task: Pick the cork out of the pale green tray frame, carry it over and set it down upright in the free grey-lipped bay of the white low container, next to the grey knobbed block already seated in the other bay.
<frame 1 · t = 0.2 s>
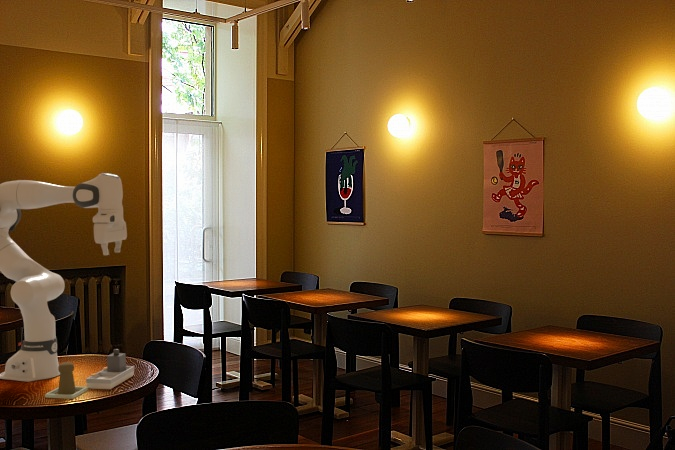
hand: (111, 253, 269), 47 cm above the table, fingers open, 8 cm apart
grey knobbed block: (116, 373, 272), point 2 cm above the table, touching white low container
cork: (67, 394, 252), resting in tray frame
white low container: (111, 381, 268), on the table
tray frame: (67, 393, 252), on the table
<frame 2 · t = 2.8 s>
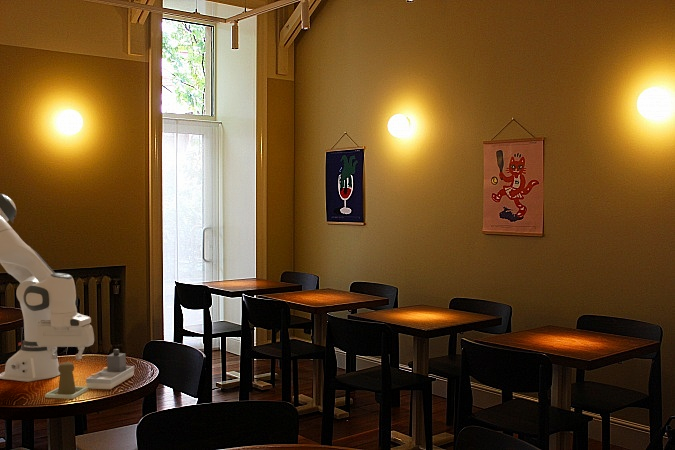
hand: (66, 359, 251), 12 cm above the table, fingers open, 8 cm apart
nothing on the table moved.
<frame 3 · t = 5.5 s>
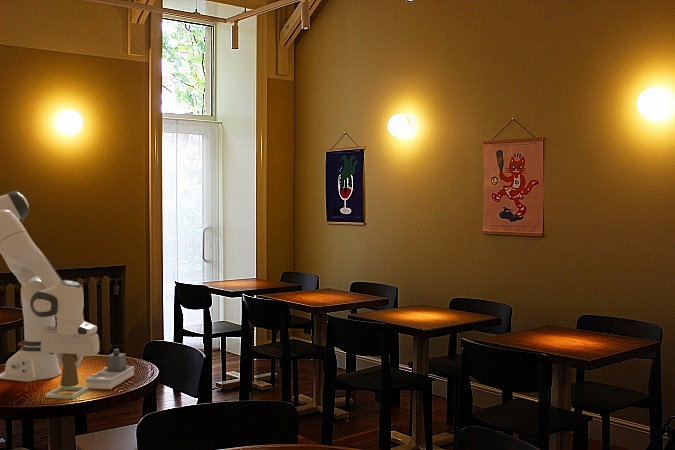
hand: (69, 366, 253), 9 cm above the table, fingers closed on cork, 4 cm apart
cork: (69, 384, 254), point 3 cm above the table, touching gripper
everything else where it was.
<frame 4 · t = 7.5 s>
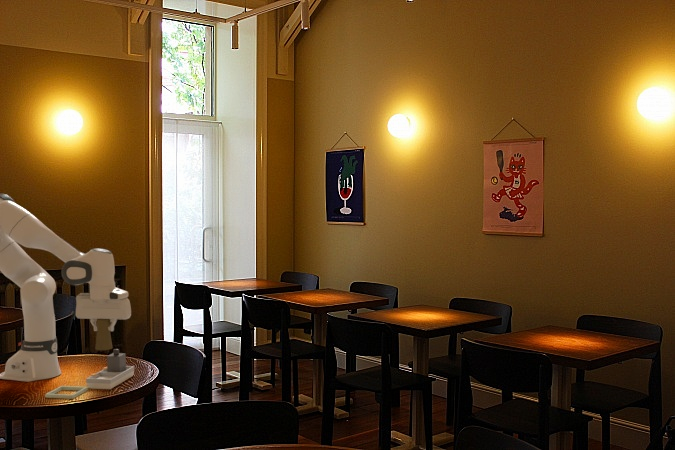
hand: (103, 330, 262), 20 cm above the table, fingers closed on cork, 4 cm apart
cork: (103, 348, 262), point 13 cm above the table, touching gripper
everything else where it was.
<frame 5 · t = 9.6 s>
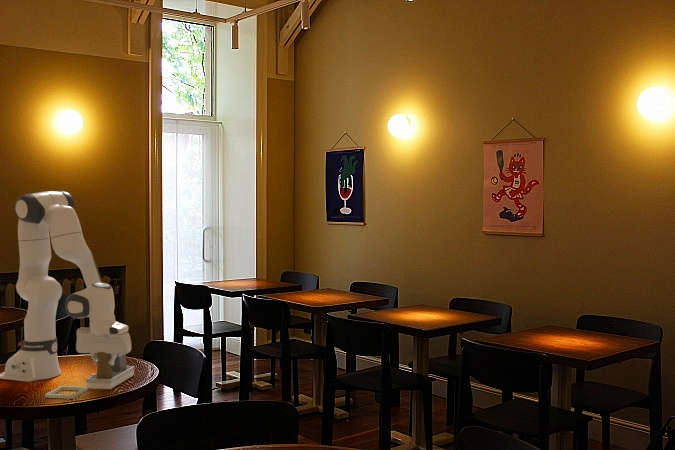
hand: (104, 365, 262), 7 cm above the table, fingers closed on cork, 4 cm apart
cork: (104, 380, 263), point 2 cm above the table, touching gripper, white low container
everything else where it was.
when the fingers open (7 cm above the table, at t = 10.5 s): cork stays where it is, resting on white low container.
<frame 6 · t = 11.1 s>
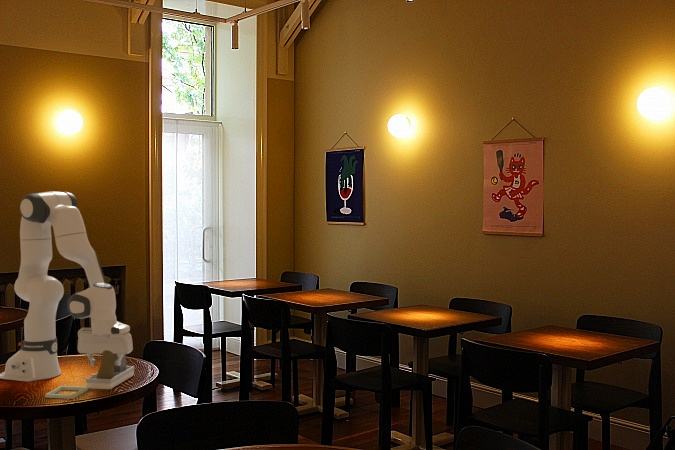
hand: (105, 365, 263), 7 cm above the table, fingers open, 8 cm apart
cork: (104, 378, 263), point 2 cm above the table, touching gripper, white low container
everything else where it was.
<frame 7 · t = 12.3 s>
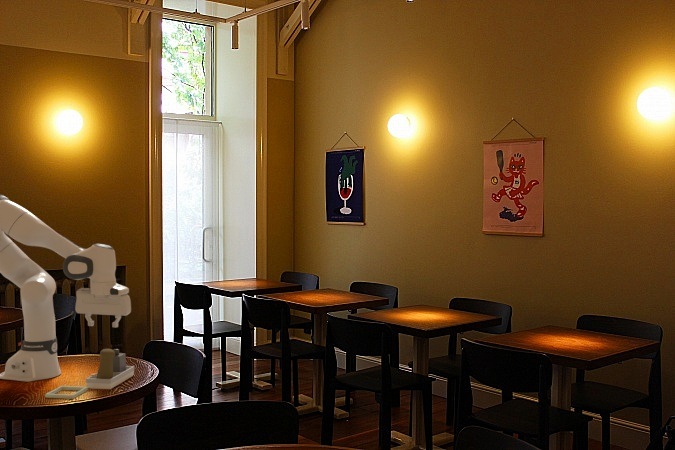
hand: (103, 326, 262), 22 cm above the table, fingers open, 8 cm apart
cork: (104, 379, 263), point 2 cm above the table, touching white low container
everything else where it was.
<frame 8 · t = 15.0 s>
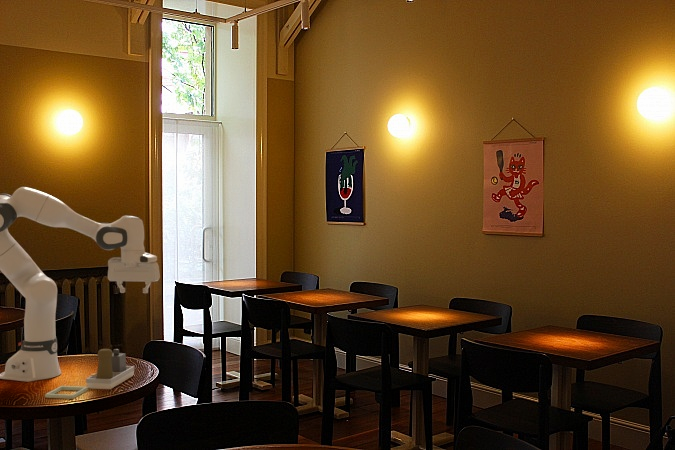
hand: (134, 292, 280), 31 cm above the table, fingers open, 8 cm apart
at the end: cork 0.6 cm from the target spot on the white low container, point 2.1 cm above the white low container's base; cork tilted 5°; grey knobbed block moved 0.0 cm from its start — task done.
